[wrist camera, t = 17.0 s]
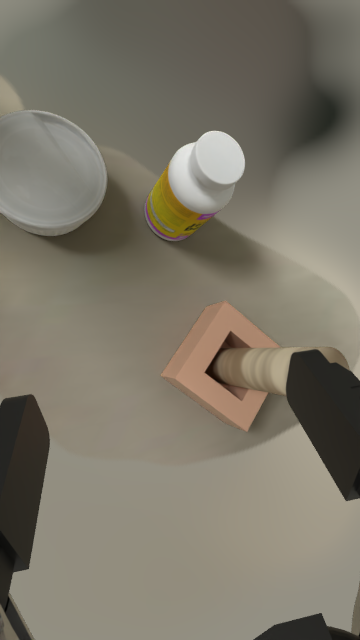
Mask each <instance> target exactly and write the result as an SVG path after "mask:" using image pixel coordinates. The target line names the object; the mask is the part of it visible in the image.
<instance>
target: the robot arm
mask: <svg viewBox="0 0 360 640" xmlns="http://www.w3.org/2000/svg"><path fill="white" fill-rule="evenodd" d="M286 396H287V400H288V402H289V405H290V407H291V408H292V410H293V412H294V413H295V415H296V417H297V418H298V420H299V422H300V424H301V425H302V427H303V429H304V430H305V432H306V434H307V435H308V437H309V439H310V440H311V442H312V444H313V446H314V447H315V449H316V451H317V452H318V454H319V456H320V458H321V459H322V461H323V463H324V464H325V466H326V468H327V469H328V471H329V473H330V474H331V476H332V478H333V480H334V481H335V483H336V485H337V486H338V488H339V490H340V492H341V493H342V495H343V497H344V498H345V500H346V501H348V500H353V499H358V498H360V381H359V380H358V378H357V377H356V376H355V375H354V374H353V373H352V372H351V371H349V370H348V369H346V368H345V367H343V366H341V365H340V364H338V363H337V362H334V363H330V362H329V361H328V360H327V359H326V357H325V356H324V355H323V354H322V353H321V352H320V351H319V350H318V349H312V350H306V351H300V352H294V353H292V355H291V358H290V364H289V370H288V376H287V382H286ZM49 445H50V439H49V431H48V427H47V425H46V423H45V420H44V418H43V415H42V413H41V411H40V408H39V406H38V404H37V401H36V399H35V397H34V396H33V395H32V394H30V395H24V396H18V397H11V398H5V399H4V400H3V401H2V403H1V405H0V640H35V639H34V637H33V635H32V633H31V632H30V630H29V628H28V626H27V624H26V622H25V620H24V619H23V617H22V615H21V613H20V611H19V609H18V607H17V605H16V603H15V602H14V600H13V598H12V596H11V594H10V593H9V590H10V584H11V579H12V574H13V572H17V571H22V570H26V569H29V563H30V558H31V552H32V546H33V540H34V535H35V529H36V523H37V516H38V511H39V505H40V499H41V493H42V488H43V482H44V476H45V469H46V464H47V459H48V453H49ZM254 640H360V583H359V590H358V594H357V597H356V601H355V605H354V612H353V618H352V631H351V633H350V632H347V631H345V630H341V629H338V628H334V627H329V626H327V625H326V623H325V621H324V618H323V616H322V613H319V614H316V615H312V616H308V617H304V618H300V619H296V620H292V621H289V622H285V623H281V624H277V625H274V626H273V627H271V628H269V629H268V630H267V631H265V632H264V633H262V634H261V635H259V636H258V637H257V638H255V639H254Z"/></svg>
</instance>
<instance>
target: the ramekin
mask: <svg viewBox="0 0 360 640" xmlns="http://www.w3.org/2000/svg"><path fill="white" fill-rule="evenodd" d="M106 189H107V170H106V165H105V162H104V159H103V157H102V154H101V152H100V151H99V149H98V147H97V146H96V144H95V143H94V141H93V140H92V139H91V138H90V137H89V136H88V135H87V133H85V132H84V131H83V130H82V129H81V128H80V127H78V126H77V125H75V124H74V123H72V122H71V121H69V120H67V119H65V118H63V117H61V116H59V115H55V114H52V113H50V112H45V111H38V110H23V111H16V112H12V113H9V114H6V115H4V116H2V117H0V213H1V214H3V215H4V216H5V217H6V218H7V219H8V220H9V221H11V222H12V223H13V224H15V225H16V226H18V227H19V228H21V229H24V230H25V231H27V232H31V233H33V234H38V235H45V236H57V235H62V234H66V233H68V232H71V231H73V230H74V229H76V228H78V227H79V226H80V225H81V224H83V223H84V222H85V221H86V220H88V219H89V218H90V217H91V216H92V215H93V214H94V213H95V212H96V211H97V210H98V208H99V207H100V205H101V203H102V201H103V199H104V196H105V193H106Z"/></svg>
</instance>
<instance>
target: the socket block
mask: <svg viewBox="0 0 360 640" xmlns="http://www.w3.org/2000/svg"><path fill="white" fill-rule="evenodd" d="M219 348H280V346H278V345H277V344H276V343H275V342H274V341H273V340H271V339H270V338H269V337H268V336H267V335H265V334H264V333H263V332H262V331H261V330H260V329H258V328H257V327H256V326H255V325H254V324H253V323H251V322H250V321H249V320H248V319H247V318H245V317H244V316H243V315H242V314H241V313H240V312H238V311H237V310H236V309H235V308H234V307H233V306H231V305H230V304H229V303H228V302H227V301H223V302H219V303H216V304H213V305H209V306H206V308H205V309H204V311H203V312H202V314H201V315H200V317H199V318H198V320H197V321H196V323H195V324H194V326H193V327H192V329H191V330H190V332H189V333H188V335H187V336H186V338H185V339H184V341H183V342H182V344H181V345H180V347H179V348H178V350H177V351H176V353H175V354H174V356H173V357H172V359H171V360H170V362H169V363H168V365H167V366H166V368H165V369H164V371H163V372H162V374H161V375H160V376H161V377H163V378H164V379H166V380H167V381H168V382H170V383H171V384H172V385H174V386H175V387H176V388H178V389H179V390H181V391H182V392H183V393H185V394H186V395H187V396H189V397H190V398H191V399H193V400H194V401H196V402H197V403H198V404H200V405H201V406H202V407H204V408H205V409H207V410H208V411H209V412H211V413H212V414H213V415H215V416H216V417H217V418H219V419H220V420H222V421H223V422H224V423H226V424H229V425H231V426H234V427H236V428H238V429H241V430H243V431H246V432H247V431H248V429H249V427H250V425H251V424H252V422H253V420H254V418H255V416H256V414H257V413H258V411H259V409H260V407H261V405H262V403H263V402H264V400H265V398H266V396H267V394H268V392H263V391H258V390H253V389H247V388H242V387H237V386H232V385H227V384H222V383H217V382H216V381H215V380H213V379H212V378H211V377H209V376H208V375H207V374H206V373H204V372H205V371H206V369H207V367H208V366H209V364H210V363H211V361H212V359H213V358H214V356H215V355H216V353H217V351H218V350H219Z"/></svg>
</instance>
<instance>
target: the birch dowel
mask: <svg viewBox="0 0 360 640" xmlns="http://www.w3.org/2000/svg"><path fill="white" fill-rule="evenodd" d="M312 349H318V350H319V351H320V352H321V353H322V354H323V355H324V356H325V357H326V359H327V360H328V361H329V362H330V363H334V362H337V363H338V364H340V365H341V366H343V367H345V368H346V369H348V370H349V366H348V363H347V361H346V359H345V357H344V356H343V354H342V353H341V352H339V351H338V350H337V349H335V348H332V347H280V348H219V350H218V351H217V353H216V355H215V356H214V358H213V359H212V361H211V363H210V364H209V366H208V367H207V369H206V371H205V372H204V373H206V374H207V375H208V376H209V377H211V378H212V379H213V380H215V381H216V382H217V383H222V384H227V385H232V386H237V387H242V388H247V389H253V390H258V391H263V392H268V393H273V394H278V395H283V396H286V382H287V376H288V370H289V364H290V358H291V355H292V353H294V352H300V351H306V350H312ZM349 371H350V370H349Z"/></svg>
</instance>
